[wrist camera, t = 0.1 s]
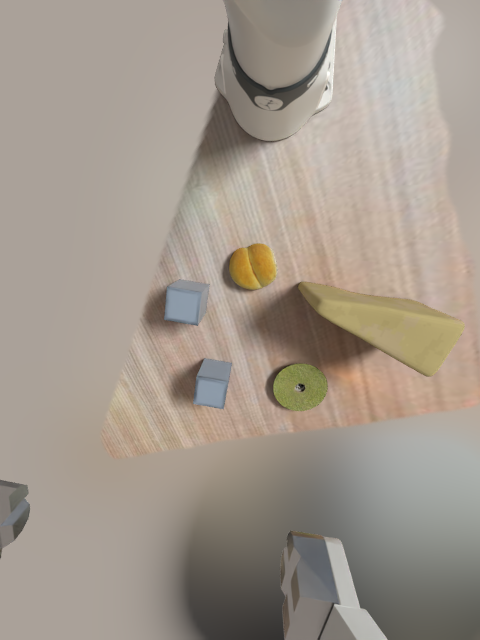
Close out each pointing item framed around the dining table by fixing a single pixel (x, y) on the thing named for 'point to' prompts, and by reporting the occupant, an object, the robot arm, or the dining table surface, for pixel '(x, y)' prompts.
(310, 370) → the mat
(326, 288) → the cheese
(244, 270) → the bread roll
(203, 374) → the grey stool
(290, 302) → the dining table surface
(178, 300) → the gray notched block
